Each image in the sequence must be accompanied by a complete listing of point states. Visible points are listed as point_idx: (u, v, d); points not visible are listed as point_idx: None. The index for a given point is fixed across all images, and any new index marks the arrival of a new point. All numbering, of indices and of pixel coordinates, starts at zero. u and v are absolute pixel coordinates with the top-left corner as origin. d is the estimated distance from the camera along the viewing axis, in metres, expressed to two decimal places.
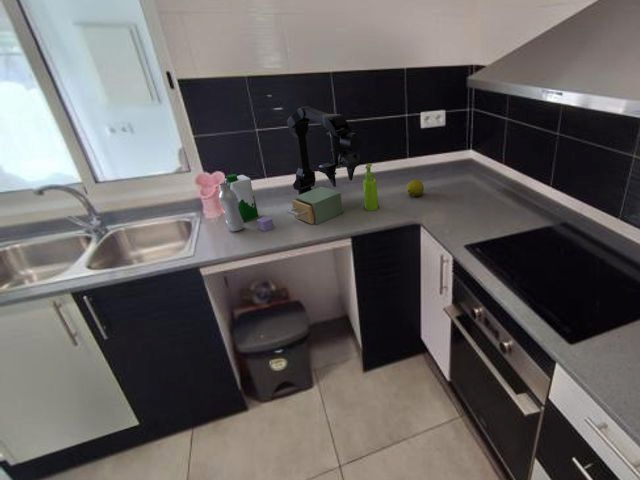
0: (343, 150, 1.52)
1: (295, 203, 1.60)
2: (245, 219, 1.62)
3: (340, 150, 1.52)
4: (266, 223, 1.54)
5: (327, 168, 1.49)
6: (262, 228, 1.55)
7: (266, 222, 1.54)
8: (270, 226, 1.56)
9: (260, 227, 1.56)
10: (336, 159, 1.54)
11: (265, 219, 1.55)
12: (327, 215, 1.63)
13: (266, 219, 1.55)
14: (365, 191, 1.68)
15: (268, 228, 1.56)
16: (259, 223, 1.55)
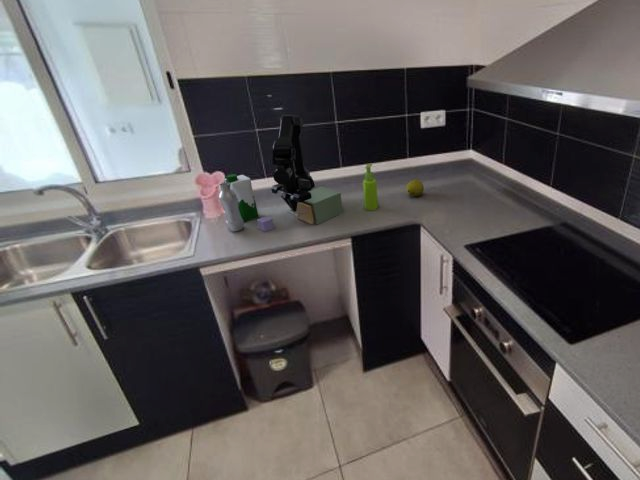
0: None
1: None
2: (245, 219, 1.62)
3: (295, 175, 1.50)
4: (266, 223, 1.54)
5: (309, 192, 1.49)
6: (262, 228, 1.55)
7: (266, 222, 1.54)
8: (270, 226, 1.56)
9: (260, 227, 1.56)
10: (295, 187, 1.50)
11: (265, 219, 1.55)
12: (327, 215, 1.63)
13: (266, 219, 1.55)
14: (365, 191, 1.68)
15: (268, 228, 1.56)
16: (259, 223, 1.55)
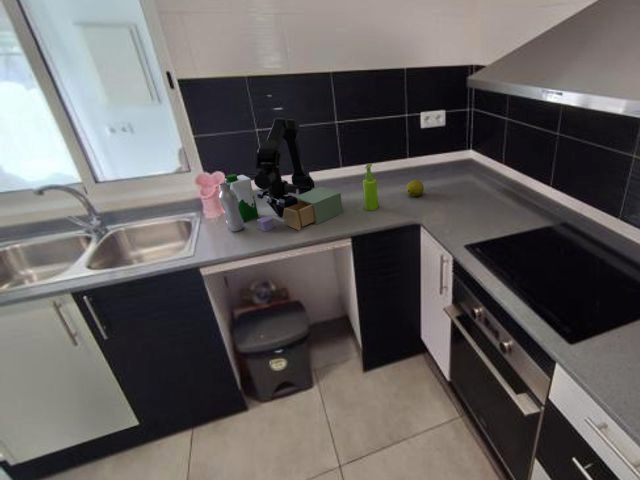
0: None
1: None
2: (245, 219, 1.62)
3: (281, 180, 1.46)
4: (266, 223, 1.54)
5: (296, 198, 1.44)
6: (262, 228, 1.55)
7: (266, 222, 1.54)
8: (270, 226, 1.56)
9: (260, 227, 1.56)
10: (282, 192, 1.46)
11: (265, 219, 1.55)
12: (327, 215, 1.63)
13: (266, 219, 1.55)
14: (365, 191, 1.68)
15: (268, 228, 1.56)
16: (259, 223, 1.55)
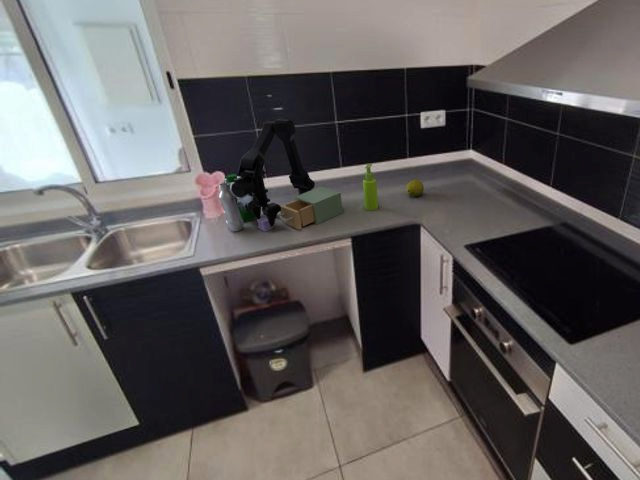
0: (250, 191, 1.47)
1: (282, 208, 1.55)
2: (245, 219, 1.62)
3: None
4: (266, 223, 1.54)
5: None
6: (262, 228, 1.55)
7: (266, 222, 1.54)
8: None
9: (260, 227, 1.56)
10: None
11: (265, 219, 1.55)
12: (327, 215, 1.63)
13: (266, 219, 1.55)
14: (365, 191, 1.68)
15: (268, 228, 1.56)
16: (259, 223, 1.55)
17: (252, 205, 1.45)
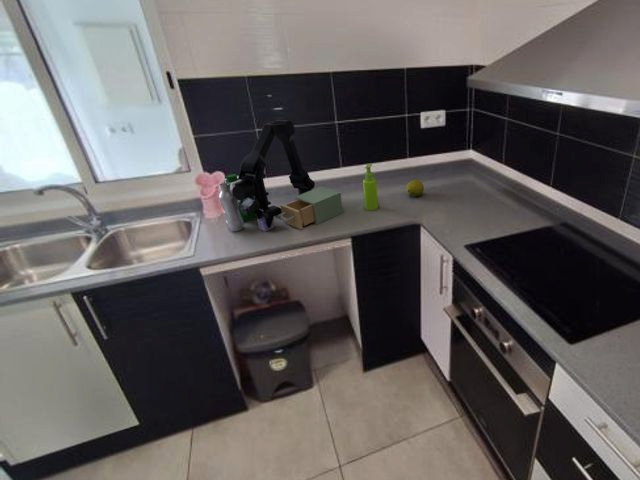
0: (251, 194, 1.48)
1: (283, 208, 1.56)
2: (245, 219, 1.62)
3: None
4: None
5: (243, 201, 1.55)
6: (262, 228, 1.55)
7: None
8: None
9: (260, 227, 1.56)
10: None
11: None
12: (327, 215, 1.63)
13: None
14: (365, 191, 1.68)
15: (268, 228, 1.56)
16: (259, 223, 1.55)
17: (253, 208, 1.45)
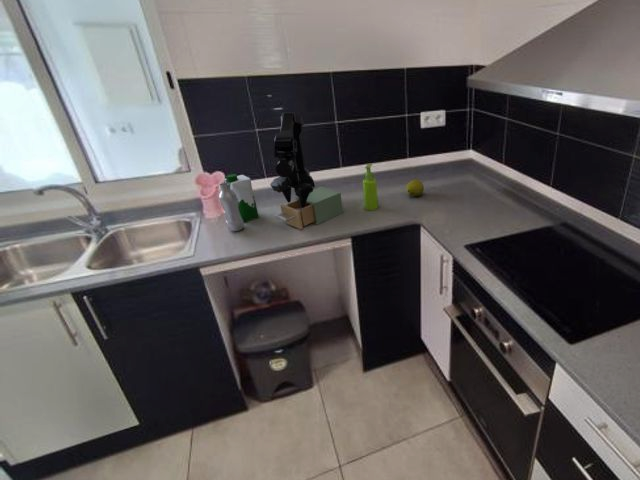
0: None
1: (283, 208, 1.56)
2: (245, 219, 1.62)
3: None
4: None
5: None
6: None
7: None
8: None
9: None
10: None
11: None
12: (327, 215, 1.63)
13: None
14: (365, 191, 1.68)
15: None
16: None
17: (285, 185, 1.44)
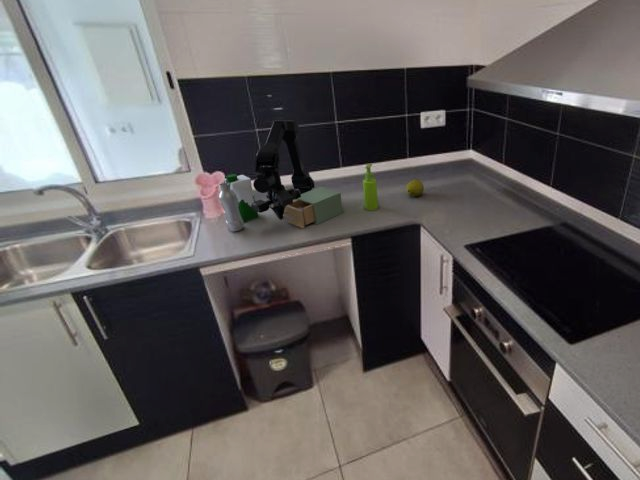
0: (277, 186, 1.44)
1: (285, 207, 1.56)
2: (245, 219, 1.62)
3: (274, 186, 1.43)
4: None
5: (259, 206, 1.40)
6: None
7: None
8: None
9: None
10: (270, 196, 1.45)
11: None
12: (327, 215, 1.63)
13: None
14: (365, 191, 1.68)
15: None
16: None
17: None
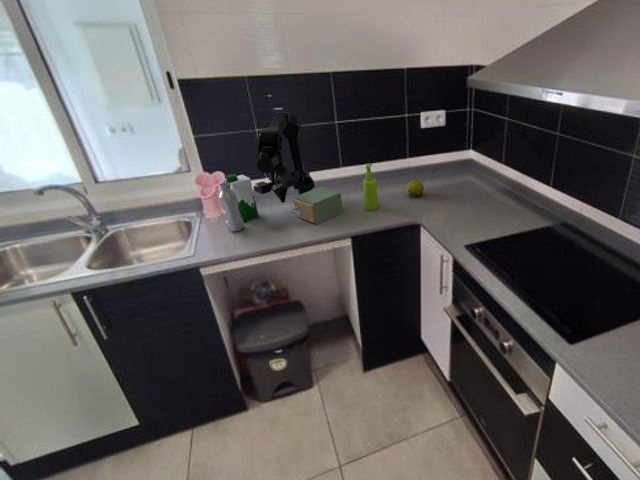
0: (280, 168, 1.42)
1: (297, 202, 1.60)
2: (245, 219, 1.62)
3: (276, 168, 1.41)
4: None
5: (261, 187, 1.39)
6: None
7: None
8: None
9: None
10: (272, 178, 1.43)
11: None
12: (327, 215, 1.63)
13: None
14: (365, 191, 1.68)
15: None
16: None
17: None
